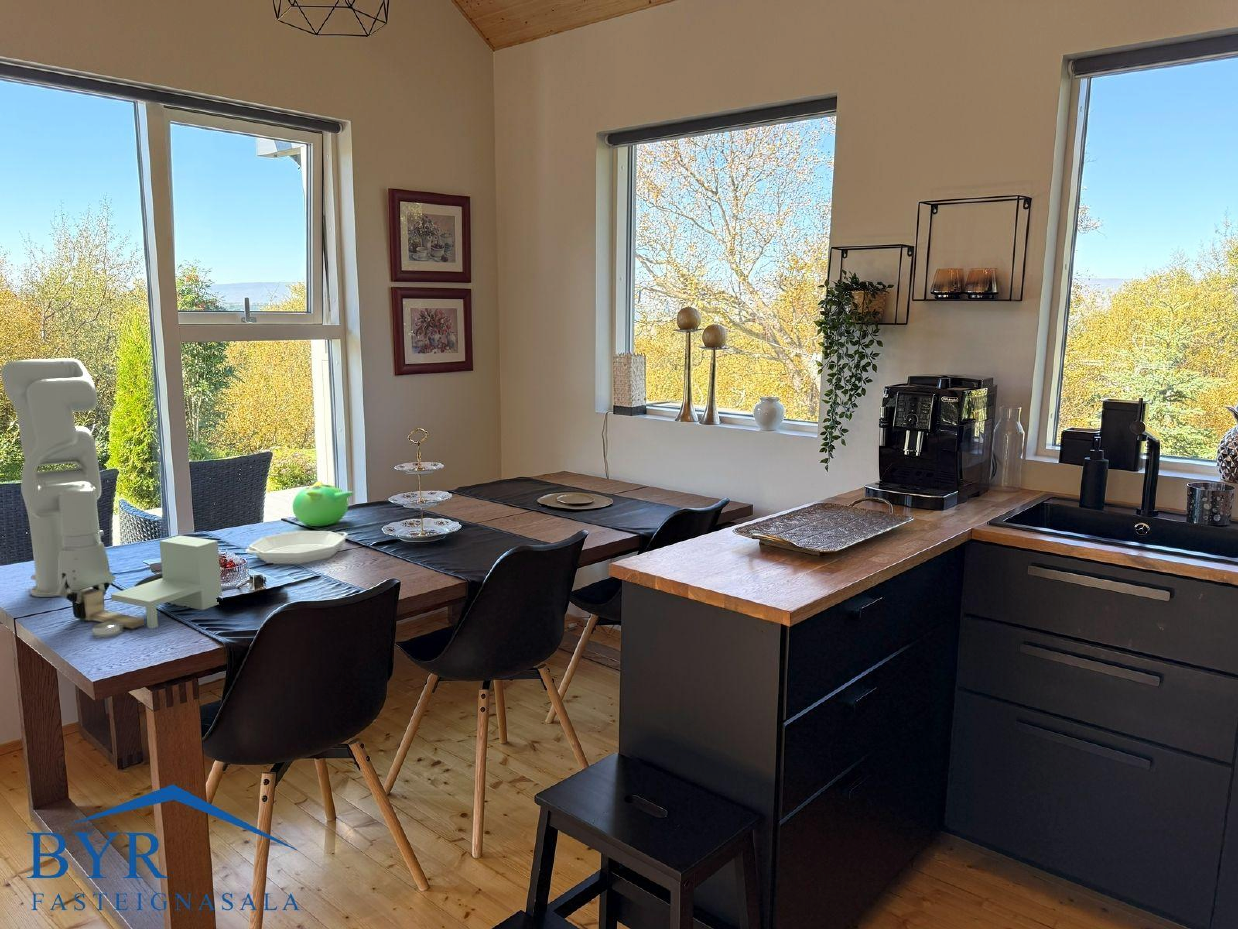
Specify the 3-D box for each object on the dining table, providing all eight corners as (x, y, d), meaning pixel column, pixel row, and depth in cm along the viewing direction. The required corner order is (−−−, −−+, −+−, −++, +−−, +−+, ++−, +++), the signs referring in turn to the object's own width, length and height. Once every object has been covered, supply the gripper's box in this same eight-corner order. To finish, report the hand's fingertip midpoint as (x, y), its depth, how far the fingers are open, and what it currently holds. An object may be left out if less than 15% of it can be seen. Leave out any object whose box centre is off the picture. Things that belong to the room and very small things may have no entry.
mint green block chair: (126, 576, 234) (216, 551, 254) (128, 589, 235) (217, 563, 255) (141, 581, 230) (231, 556, 249) (143, 595, 230) (233, 568, 250)
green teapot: (338, 517, 312) (335, 476, 309) (358, 525, 299) (355, 483, 297) (287, 524, 300) (284, 482, 298) (305, 534, 288) (302, 490, 285)
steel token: (87, 637, 198) (86, 628, 198) (110, 628, 203) (109, 620, 203) (107, 640, 196) (106, 631, 196) (129, 631, 202) (129, 623, 201)
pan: (329, 538, 284) (328, 525, 283) (366, 554, 266) (366, 540, 265) (230, 556, 263) (229, 542, 262) (264, 574, 245) (263, 559, 244)
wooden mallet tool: (74, 617, 208) (72, 593, 207) (90, 612, 211) (88, 588, 210) (130, 629, 200) (128, 604, 199) (146, 623, 204) (143, 598, 203)
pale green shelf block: (113, 620, 208) (106, 555, 205) (185, 596, 226) (180, 535, 223) (152, 628, 202) (145, 561, 200) (222, 602, 220) (217, 540, 218)
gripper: (104, 530, 214) (111, 602, 218) (35, 547, 199) (44, 624, 202) (125, 533, 211) (132, 606, 215) (57, 550, 196) (66, 628, 199)
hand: (89, 614), depth 208 cm, fingers closed on wooden mallet tool, 4 cm apart
